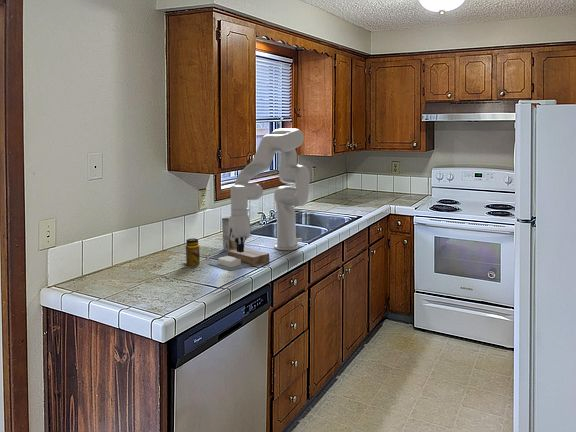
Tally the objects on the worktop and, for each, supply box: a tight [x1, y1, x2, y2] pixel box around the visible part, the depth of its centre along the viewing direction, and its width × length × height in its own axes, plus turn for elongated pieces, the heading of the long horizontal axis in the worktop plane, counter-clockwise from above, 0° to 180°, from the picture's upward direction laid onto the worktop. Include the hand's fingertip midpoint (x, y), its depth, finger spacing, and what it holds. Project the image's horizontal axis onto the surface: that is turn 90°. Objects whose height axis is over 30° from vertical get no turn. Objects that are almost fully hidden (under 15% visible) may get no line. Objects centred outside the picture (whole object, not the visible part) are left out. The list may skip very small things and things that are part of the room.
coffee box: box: [221, 217, 237, 252], centre depth 277 cm, size 9×6×16 cm
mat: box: [208, 260, 252, 272], centre depth 248 cm, size 12×16×1 cm
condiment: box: [181, 237, 202, 269], centre depth 248 cm, size 7×8×12 cm
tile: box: [217, 255, 241, 267], centre depth 247 cm, size 6×9×2 cm, turn 45°
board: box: [227, 246, 270, 267], centre depth 255 cm, size 10×18×4 cm, turn 45°
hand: (240, 251), depth 251 cm, fingers closed
